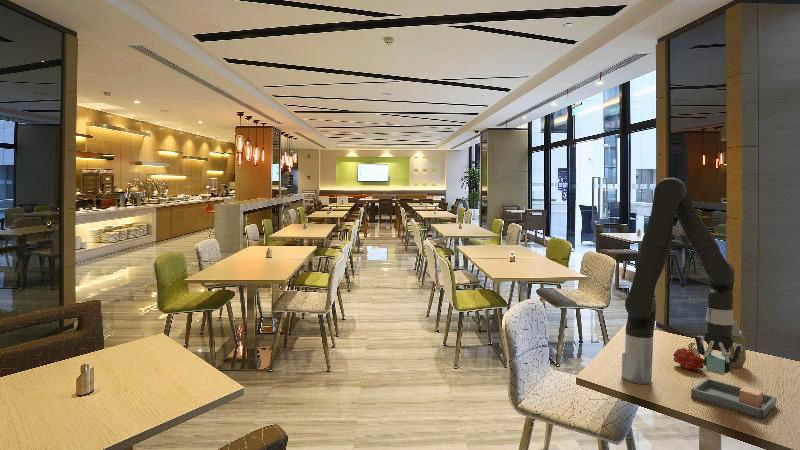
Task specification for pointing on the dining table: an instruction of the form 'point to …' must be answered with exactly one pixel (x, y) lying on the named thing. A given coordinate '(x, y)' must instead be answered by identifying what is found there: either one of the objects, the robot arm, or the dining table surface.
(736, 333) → the squeeze bottle
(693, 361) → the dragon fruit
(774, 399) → the tray
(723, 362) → the teal block
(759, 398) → the terracotta block
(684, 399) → the dining table surface
